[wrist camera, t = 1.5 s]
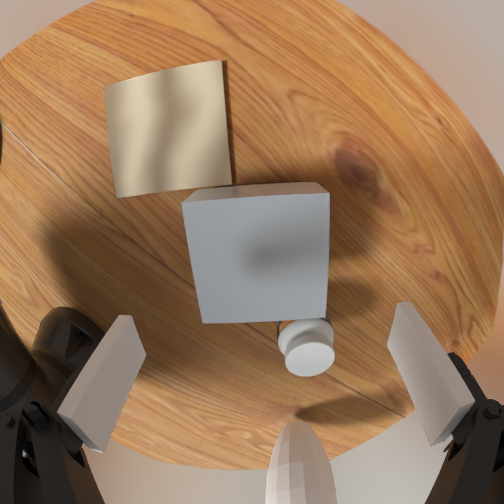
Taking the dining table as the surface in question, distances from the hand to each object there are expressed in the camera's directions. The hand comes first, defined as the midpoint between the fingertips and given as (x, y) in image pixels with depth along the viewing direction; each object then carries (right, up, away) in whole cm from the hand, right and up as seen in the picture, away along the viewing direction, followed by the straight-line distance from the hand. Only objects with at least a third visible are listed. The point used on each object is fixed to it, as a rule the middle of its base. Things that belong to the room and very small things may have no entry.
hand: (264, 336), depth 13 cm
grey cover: (0, +5, +12) cm, 13 cm away
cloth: (-10, +17, +13) cm, 23 cm away
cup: (+7, -24, +30) cm, 39 cm away
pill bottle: (+5, -2, +20) cm, 21 cm away
